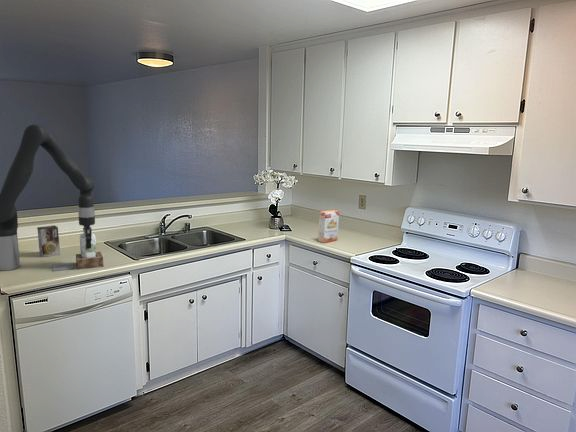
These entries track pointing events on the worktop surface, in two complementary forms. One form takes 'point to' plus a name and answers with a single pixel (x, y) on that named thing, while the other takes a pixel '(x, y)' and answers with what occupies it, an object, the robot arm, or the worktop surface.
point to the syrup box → (91, 251)
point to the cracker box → (328, 226)
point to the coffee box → (48, 241)
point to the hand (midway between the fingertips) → (88, 246)
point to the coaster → (62, 267)
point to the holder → (89, 261)
